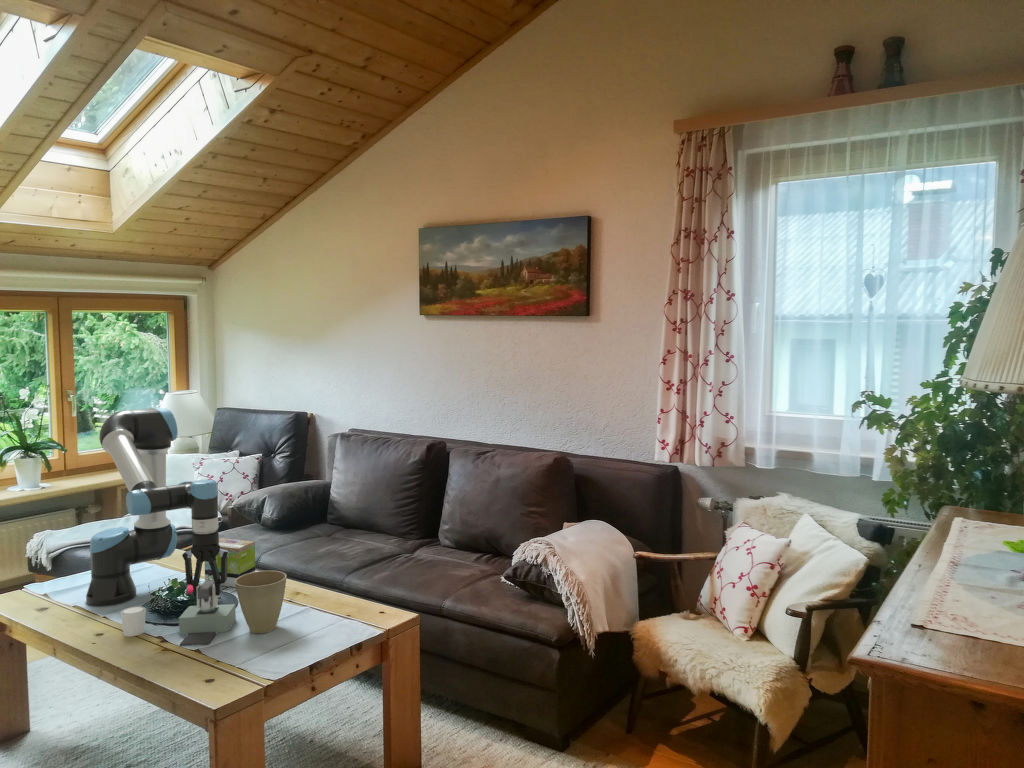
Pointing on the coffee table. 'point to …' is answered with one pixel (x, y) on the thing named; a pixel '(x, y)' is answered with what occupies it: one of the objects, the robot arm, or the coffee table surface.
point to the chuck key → (206, 597)
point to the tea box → (234, 560)
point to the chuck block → (207, 619)
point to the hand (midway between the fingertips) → (207, 605)
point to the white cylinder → (133, 620)
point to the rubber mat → (198, 638)
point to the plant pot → (261, 599)
